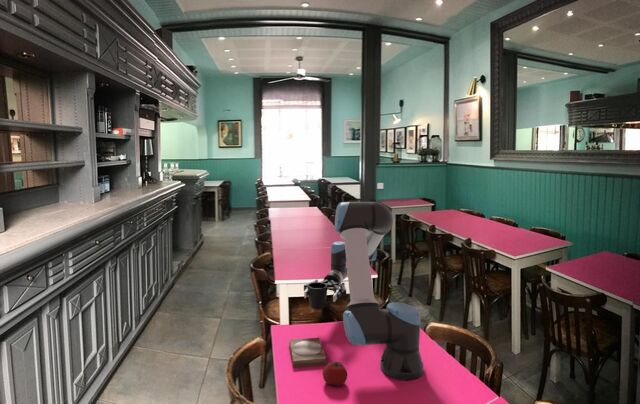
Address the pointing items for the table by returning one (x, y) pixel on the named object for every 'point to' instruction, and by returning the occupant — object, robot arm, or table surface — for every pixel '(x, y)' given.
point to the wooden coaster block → (307, 352)
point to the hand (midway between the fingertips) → (319, 296)
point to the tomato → (335, 373)
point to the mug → (318, 294)
